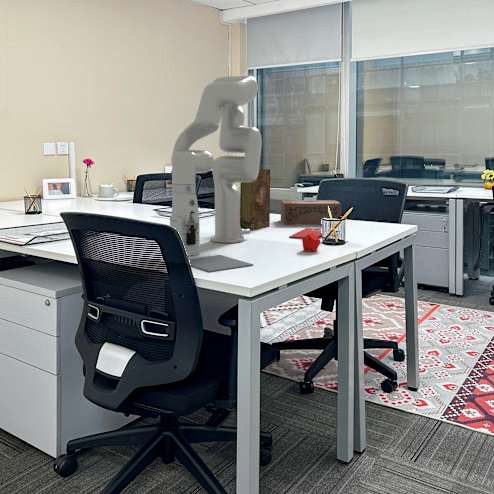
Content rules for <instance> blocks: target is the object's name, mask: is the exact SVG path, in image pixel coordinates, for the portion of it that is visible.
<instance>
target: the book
mask: <svg viewBox="0 0 494 494" xmlns="http://www.w3.org/2000/svg"><path fill="white" fill-rule="evenodd" d="M239 183H240V189H239V192H240V228H242V229H243V230H245V229H250V231H255V230H260V229H263V228H268V227H270V223H271V222H270V221H271V220H270V219H271V218H270V217H271V212H270V210H271V169H269V168H268V169H266V168H265V169H263V168H262V169H261V168H259V173H258V177H257V179H256V180H255V181H254V182H251V183H241V182H239Z"/></svg>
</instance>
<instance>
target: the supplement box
mask: <svg viewBox="0 0 494 494" xmlns="http://www.w3.org/2000/svg"><path fill="white" fill-rule="evenodd" d="M188 223H193V221H192V219H191V218H190V220H189V221H188ZM170 226H172V227H174V228H176V230H177V231H178V232H179V234H180V236H181V238H182V241H183V243H184V246H185V249H186V252H187V254H188V255H189V256H188V257H192V256H191V255H194V256H199V255H200V254H201V253H200V249H201V248H200V224H199V225H198V228H197V232H196V244H195V245H187V244H186V233H188V232H187V225H185V219H184V218H180V217H175V216H171V215H170V216H169V227H170ZM191 226H192V225H191ZM191 226H189V227H190V228H191Z"/></svg>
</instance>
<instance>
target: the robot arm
mask: <svg viewBox="0 0 494 494" xmlns="http://www.w3.org/2000/svg"><path fill="white" fill-rule="evenodd" d="M258 91H259V83H258V81H257V79H256V78H255V77H253V76H251V75H237V76H236V75H231V76H230V75H229V76H220V77H217V78H215V79H214V80H213V82H212V83H209V84H207V85H206V86H205V87H204V88H203V91H202V94H201V98H200V102H199V104H198V108H197V111H196V114H195V118H194V120H193V121H192V122H191V123H190V124H188V125H187V127H186V128H184V129H183V131H182V132H181V133H180V134H179V135H178V136H177V139H176V141H175V144H174V146H173V150H172V154H171V158H170V159H171V176H172V177H171V178H172V179H171V181H172V182H171V183H172V187H171V188H172V189H171V190H172V201H171V215H170V217H171V216H175V217H180V218H184V219H185V225H187V232H188V233H186V244H187V245H195V244H196V232H197V228H198V225H199V226H200V217H199V216H200V215H199V205H198V204H199V203H198V198H197V194H196V193H197V192H196V191H197V190H196V188H197V187H196V174H207V173H208V172H210V171H211V172H212V177H213V183H214V235H213V236H210V240H211V242H214V243H221V244H233V243H235V244H236V243H242V242H244V241H245V236H244V235H250V234H251V230H250V229H242V228H240V189H239V188H238V186H237V183H240V182H241V183H251V182H254V181H255V180H256V179H257V177H258V173H259V169H260V163H261V154H262V146H263V143H262V134H261V132H260V131H259V129H258V128H256V127H253V126H245V112H244V109H243V108H242V106H245V105H246V104H249V102H252V101H253V100H254V99H255V98H256V96H257V95H258V93H259V92H258ZM219 127H220V128H219ZM218 129H220V131H219V141H218V142H219V143H218V145H219V149H220V150H221V151H222V152H224V153H229V154H244V155H243V156H239V155H238V156H237V155H222V156H218V157H217V158H215V159H214V156H213V155H212V154H211V153H210V152H209V151H207V150H200V149H198V150H196V149H190V148H191V146H193V144H195V143H196V142H197V141H199V140H201V139H203V138H205V137H207V136H209V135H211V134H213V133H215V132H217V131H218ZM190 218H191V219H192V221H193V223H188V221H189V220H190ZM191 225H192V226H191ZM189 226H191V228H190V227H189Z"/></svg>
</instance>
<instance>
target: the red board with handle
mask: <svg viewBox="0 0 494 494" xmlns="http://www.w3.org/2000/svg"><path fill="white" fill-rule="evenodd" d="M311 233H313V234H314V235H315V236H316V237H317V238H318V239H319V240H320V239H322V238H321V237H322V233H321V227H320V226H319V227H318V226H317V227H315V228H311V227H310V228H309V227H308V228H304V229H302V230H300V231H297V232H295V233H294V234H291V235H289V237H288V238H289V239H296V240H302V238H304V237H305V236H307V235H309V234H311Z"/></svg>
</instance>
